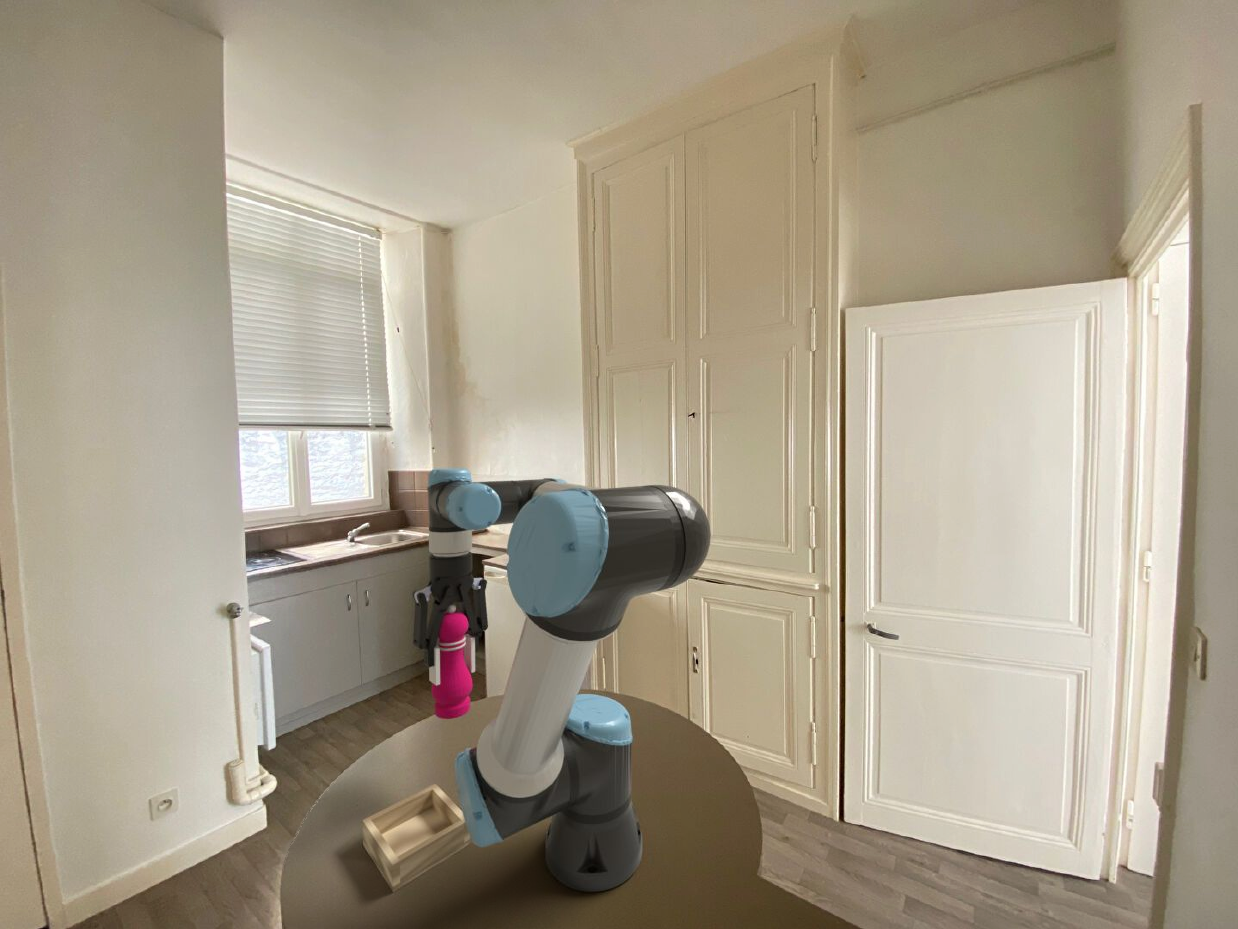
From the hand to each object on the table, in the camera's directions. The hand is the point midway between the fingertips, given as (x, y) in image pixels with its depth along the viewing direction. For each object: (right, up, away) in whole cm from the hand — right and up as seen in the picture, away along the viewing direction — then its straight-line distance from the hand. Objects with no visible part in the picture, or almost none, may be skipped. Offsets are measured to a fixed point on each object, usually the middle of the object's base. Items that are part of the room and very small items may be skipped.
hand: (452, 675), depth 92 cm
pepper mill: (0, -7, 0) cm, 7 cm away
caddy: (-1, -21, -13) cm, 25 cm away
